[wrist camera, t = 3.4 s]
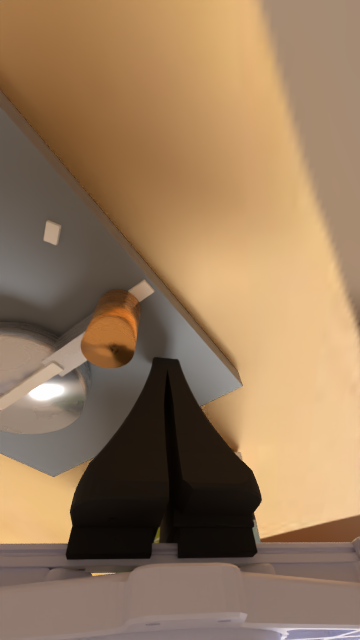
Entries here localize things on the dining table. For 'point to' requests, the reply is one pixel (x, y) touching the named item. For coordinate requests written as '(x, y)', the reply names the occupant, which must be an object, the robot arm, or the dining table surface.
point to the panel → (84, 296)
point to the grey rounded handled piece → (61, 364)
